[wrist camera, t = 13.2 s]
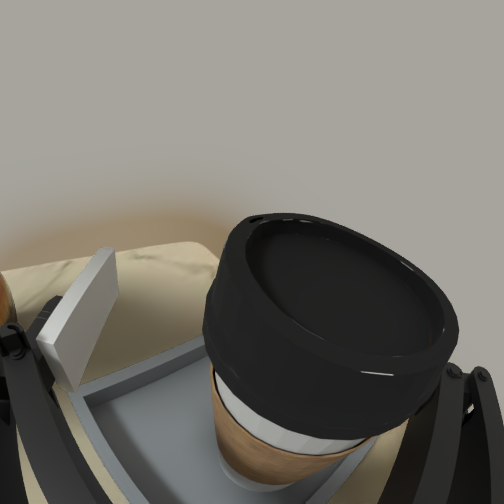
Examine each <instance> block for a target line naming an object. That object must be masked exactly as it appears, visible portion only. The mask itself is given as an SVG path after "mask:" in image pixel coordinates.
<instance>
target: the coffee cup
mask: <svg viewBox="0 0 504 504" xmlns="http://www.w3.org/2000/svg"><path fill="white" fill-rule="evenodd" d="M202 331H203V337H204V343H205V349H206V352H207V354H208V356H209V358H210V360H211V364H210V382H211V393H212V403H213V413H214V423H215V432H216V439H217V448H218V458H219V462H220V465H221V468H222V470H223V472H224V473H225V474H226V475H227V477H228V478H229V479H230V480H232V481H233V482H234V483H235V484H237V485H239V486H240V487H242V488H245V489H248V490H251V491H256V492H272V491H277V490H280V489H283V488H285V487H287V486H289V485H291V484H293V483H295V482H298V481H300V480H302V479H304V478H306V477H308V476H310V475H313V474H315V473H317V472H319V471H320V470H322V469H324V468H326V467H328V466H330V465H332V464H334V463H335V462H337V461H339V460H341V459H342V458H344V457H346V456H348V455H349V454H351V453H353V452H354V451H356V450H357V449H359V448H361V447H362V446H364V445H365V444H367V443H368V442H370V441H371V440H372V439H374V438H375V437H376V436H378V435H380V434H383V433H385V432H387V431H389V430H391V429H393V428H395V427H398V426H400V425H401V424H402V423H403V422H405V421H406V420H407V419H408V418H409V417H411V416H412V415H413V414H414V413H415V412H416V411H417V410H418V408H419V407H420V406H421V405H422V404H423V403H425V402H426V401H427V400H428V399H429V398H430V396H431V395H432V393H433V391H434V390H435V388H436V387H437V385H438V383H439V380H440V377H441V373H442V371H443V369H444V367H445V366H446V364H447V362H448V360H449V358H450V356H451V354H452V353H453V350H454V348H455V347H456V345H457V341H458V334H459V326H458V320H457V316H456V314H455V311H454V309H453V307H452V305H451V303H450V301H449V300H448V298H447V297H446V295H445V294H444V292H443V291H442V290H441V289H440V288H439V287H438V285H437V284H436V283H435V282H434V281H433V280H432V279H431V278H430V277H428V276H427V275H426V274H425V273H424V272H423V271H422V270H420V269H419V268H418V267H416V266H415V265H414V264H412V263H411V262H410V261H408V260H407V259H405V258H404V257H402V256H400V255H399V254H397V253H395V252H394V251H392V250H391V249H389V248H387V247H385V246H384V245H381V244H380V243H378V242H376V241H374V240H372V239H370V238H368V237H366V236H364V235H362V234H360V233H358V232H356V231H354V230H351V229H349V228H347V227H345V226H342V225H339V224H337V223H334V222H331V221H329V220H325V219H322V218H318V217H315V216H310V215H304V214H295V213H273V214H262V215H255V216H250V217H247V218H245V219H244V220H243V221H241V222H240V223H239V224H238V225H237V226H236V227H235V228H234V229H233V230H232V231H231V233H230V234H229V235H228V238H227V240H226V243H225V245H224V249H223V252H222V255H221V259H220V262H219V266H218V270H217V274H216V278H215V279H214V281H213V283H212V285H211V287H210V289H209V291H208V294H207V297H206V305H205V313H204V321H203V328H202Z"/></svg>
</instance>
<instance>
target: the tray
mask: <svg viewBox="0 0 504 504" xmlns="http://www.w3.org/2000/svg"><path fill="white" fill-rule="evenodd" d="M210 364H211V360H210V358H209V356H208V354H207V352H206V349H205V343H204V337H203V335H200V336H198V337H196V338H194V339H192V340H189V341H187V342H185V343H183V344H180V345H178V346H176V347H174V348H171V349H169V350H167V351H164V352H162V353H160V354H157V355H155V356H153V357H150V358H148V359H146V360H143V361H141V362H138V363H136V364H134V365H131V366H129V367H126V368H124V369H121V370H119V371H116V372H114V373H111V374H109V375H106V376H103V377H101V378H98V379H96V380H93V381H90V382H88V383H85V384H82V385H80V386H79V387H78V389H77V392H76V393H73V392H69V391H67V393H68V396H69V398H70V400H71V403H72V405H73V407H74V409H75V412H76V414H77V416H78V418H79V420H80V422H81V424H82V426H83V428H84V430H85V432H86V434H87V436H88V438H89V440H90V442H91V444H92V445H93V447H94V449H95V451H96V453H97V454H98V456H99V458H100V459H101V461H102V463H103V464H104V466H105V468H106V469H107V471H108V472H109V474H110V476H111V477H112V479H113V480H114V482H115V483H116V485H117V486H118V487H119V489H120V490H121V492H122V493H123V495H124V496H125V497H126V499H127V500H128V501H129V503H130V504H326V503H327V502H328V501H329V499H330V498H331V497H332V496H333V495H334V494H335V493H336V491H337V490H338V489H339V488H340V487H341V486H342V484H343V483H344V482H345V481H346V480H347V478H348V477H349V476H350V475H351V473H352V472H353V471H354V469H355V468H356V467H357V466H358V464H359V463H360V462H361V460H362V459H363V458H364V456H365V455H366V453H367V452H368V451H369V449H370V448H371V446H372V445H373V443H374V442H375V440H376V439H377V437H378V436H379V435H378V436H376V437H375V438H374V439H372V440H371V441H370V442H368V443H367V444H365V445H364V446H362V447H361V448H359V449H357V450H356V451H354V452H353V453H351V454H349V455H348V456H346V457H344V458H342V459H341V460H339V461H337V462H335V463H334V464H332V465H330V466H328V467H326V468H324V469H322V470H320V471H319V472H317V473H315V474H313V475H310V476H308V477H306V478H304V479H302V480H300V481H298V482H295V483H293V484H291V485H289V486H287V487H285V488H283V489H280V490H277V491H272V492H256V491H251V490H248V489H245V488H242V487H240V486H239V485H237V484H235V483H234V482H233V481H232V480H230V479H229V478H228V477H227V475H226V474H225V473H224V472H223V470H222V468H221V465H220V462H219V458H218V448H217V439H216V432H215V423H214V413H213V403H212V393H211V382H210Z"/></svg>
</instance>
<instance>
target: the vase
mask: <svg viewBox="0 0 504 504" xmlns="http://www.w3.org/2000/svg"><path fill="white" fill-rule="evenodd" d="M12 322H13V323H17V315H16V309H15V304H14V301H13V298H12V294H11V291H10V289H9V286H8V284H7V282H6V280H5V279H4V277H3V275H2V274H1V272H0V327H1V326H2V325H4V324H6V323H12Z"/></svg>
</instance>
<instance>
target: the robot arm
mask: <svg viewBox="0 0 504 504" xmlns="http://www.w3.org/2000/svg"><path fill="white" fill-rule="evenodd" d="M118 296H119V288H118V280H117V270H116V258H115V249H114V248H107V247H101V248H100V249H99V250H98V252H97V253H96V254H95V255H94V256H93V258H92V259H91V260H90V262H89V263H88V264H87V265H86V267H85V268H84V269H83V271H82V272H81V273H80V275H79V276H78V277H77V279H76V280H75V281H74V283H73V284H72V285H71V287H70V288H69V290H68V291H67V292H66V294H65V295H64V297H62V296H57V295H56V296H55V297H53V298H52V299H51V300H49V301H48V302H47V303H46V305H45V306H44V307H43V309H42V311H41V312H40V313H39V314H38V317H37V318H36V319H35V320H34V322H33V323H32V325H31V326H30V328H29V329H28V331H27V332H26V334H25V333H24V330H23V328H22V326H20V325H19V324H18V323H13V322H12V323H6V324H4V325H2V326H1V327H0V504H29V503H28V499H27V495H26V491H25V486H24V482H23V476H22V471H21V465H20V459H19V451H18V443H17V433H16V424H17V427H18V431H19V434H20V437H21V440H22V443H23V446H24V449H25V452H26V454H27V457H28V460H29V462H30V465H31V467H32V470H33V472H34V474H35V477H36V479H37V481H38V483H39V485H40V488H41V490H42V492H43V494H44V496H45V498H46V500H47V502H48V503H49V504H113V503H112V502H111V500H110V499H109V498H108V496H107V495H106V493H105V492H104V490H103V489H102V487H101V485H100V484H99V482H98V481H97V479H96V477H95V476H94V474H93V472H92V471H91V469H90V467H89V466H88V464H87V462H86V460H85V458H84V457H83V455H82V453H81V451H80V449H79V447H78V445H77V443H76V441H75V439H74V437H73V435H72V433H71V431H70V428H69V426H68V424H67V422H66V420H65V417H64V415H63V413H62V410H61V408H60V405H59V403H58V400H57V397H56V395H55V392H54V390H53V388H52V386H53V384H54V381H56V383H57V384H58V386H59V388H60V389H63V390H66V391H69V392H73V393H76V392H77V389H78V387H79V384H80V381H81V379H82V376H83V374H84V371H85V369H86V366H87V364H88V361H89V359H90V356H91V354H92V352H93V349H94V347H95V345H96V342H97V340H98V338H99V336H100V333H101V331H102V329H103V327H104V325H105V322H106V320H107V318H108V316H109V314H110V312H111V310H112V308H113V306H114V304H115V302H116V300H117V298H118ZM472 404H473V406H474V409H473V410H472V411H471V412H470V413H468V408H469V407H470V406H471V405H472ZM377 504H504V426H503V420H502V416H501V411H500V407H499V403H498V399H497V395H496V392H495V388H494V385H493V381H492V378H491V376H490V374H489V372H488V371H487V370H486V369H485V368H483V367H479V366H478V367H475V368H474V370H473V371H472V372H471V373H470V374H468V373H463V372H462V371H461V369H460V368H459V367H458V366H456V365H455V364H453V363H450V362H448V363H447V364H446V366H445V367H444V369H443V371H442V373H441V377H440V380H439V383H438V385H437V387H436V388H435V390H434V391H433V393H432V395H431V396H430V398H429V399H428V400H427V401H426V402H425V403H423V404H422V405H421V406H420V407H419V408H418V410H417V411H416V412H415V413H414V414H413V415H412V416H411V417H409V420H408V424H407V427H406V431H405V434H404V437H403V440H402V443H401V446H400V449H399V452H398V455H397V458H396V460H395V463H394V466H393V468H392V471H391V473H390V476H389V478H388V481H387V483H386V486H385V488H384V490H383V492H382V495H381V497H380V499H379V501H378V503H377Z"/></svg>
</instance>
